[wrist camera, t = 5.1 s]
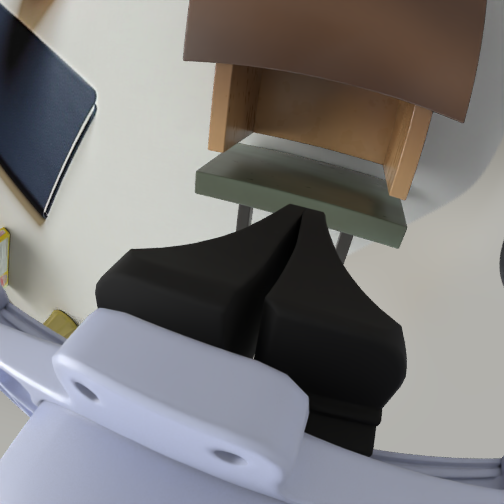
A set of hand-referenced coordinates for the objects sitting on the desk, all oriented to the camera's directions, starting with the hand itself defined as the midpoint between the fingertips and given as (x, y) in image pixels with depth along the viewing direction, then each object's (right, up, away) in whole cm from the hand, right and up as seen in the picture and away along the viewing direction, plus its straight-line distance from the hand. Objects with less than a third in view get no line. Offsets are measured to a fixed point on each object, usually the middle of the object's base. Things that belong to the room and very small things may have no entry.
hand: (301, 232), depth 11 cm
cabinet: (+4, +14, +1) cm, 14 cm away
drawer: (+2, +6, +6) cm, 9 cm away
